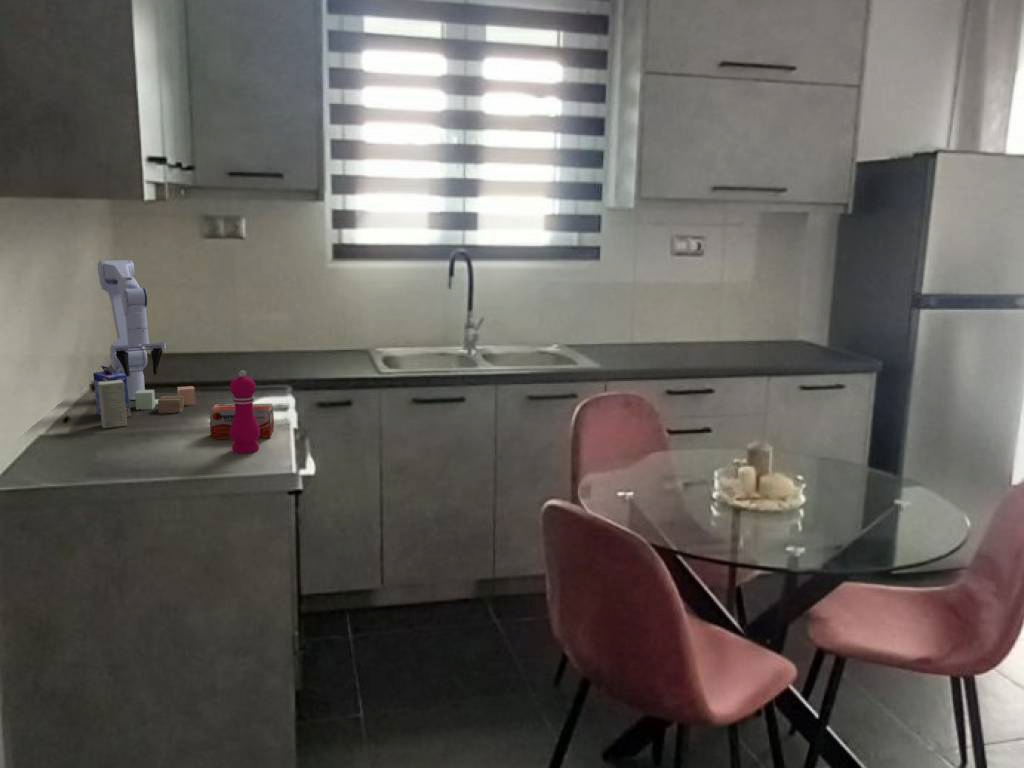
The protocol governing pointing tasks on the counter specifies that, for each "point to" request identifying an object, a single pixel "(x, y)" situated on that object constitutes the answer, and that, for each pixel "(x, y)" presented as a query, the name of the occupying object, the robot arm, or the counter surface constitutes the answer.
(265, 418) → the medicine box
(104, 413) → the skincare box
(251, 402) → the pepper mill
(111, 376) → the ink cartridge box
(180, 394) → the clay block
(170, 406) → the base block
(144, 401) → the sage block
